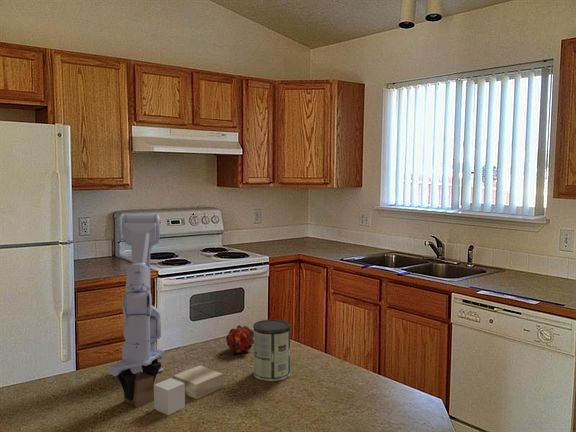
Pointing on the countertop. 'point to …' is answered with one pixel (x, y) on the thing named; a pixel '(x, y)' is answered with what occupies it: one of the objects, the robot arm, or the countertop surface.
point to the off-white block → (169, 396)
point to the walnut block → (142, 389)
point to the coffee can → (272, 350)
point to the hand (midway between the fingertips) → (138, 395)
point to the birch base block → (200, 381)
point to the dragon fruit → (240, 339)
